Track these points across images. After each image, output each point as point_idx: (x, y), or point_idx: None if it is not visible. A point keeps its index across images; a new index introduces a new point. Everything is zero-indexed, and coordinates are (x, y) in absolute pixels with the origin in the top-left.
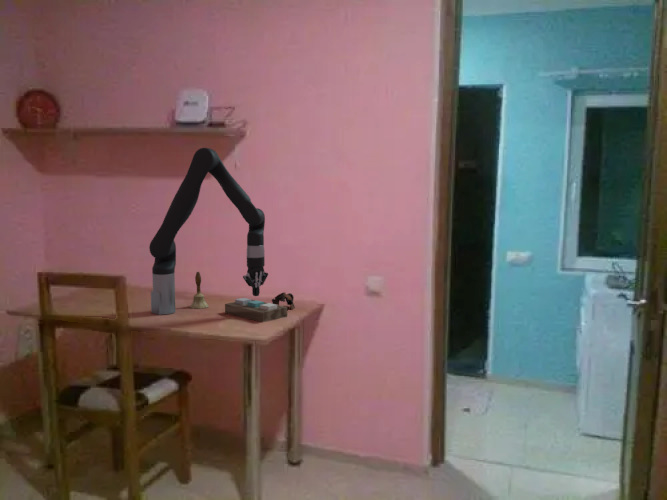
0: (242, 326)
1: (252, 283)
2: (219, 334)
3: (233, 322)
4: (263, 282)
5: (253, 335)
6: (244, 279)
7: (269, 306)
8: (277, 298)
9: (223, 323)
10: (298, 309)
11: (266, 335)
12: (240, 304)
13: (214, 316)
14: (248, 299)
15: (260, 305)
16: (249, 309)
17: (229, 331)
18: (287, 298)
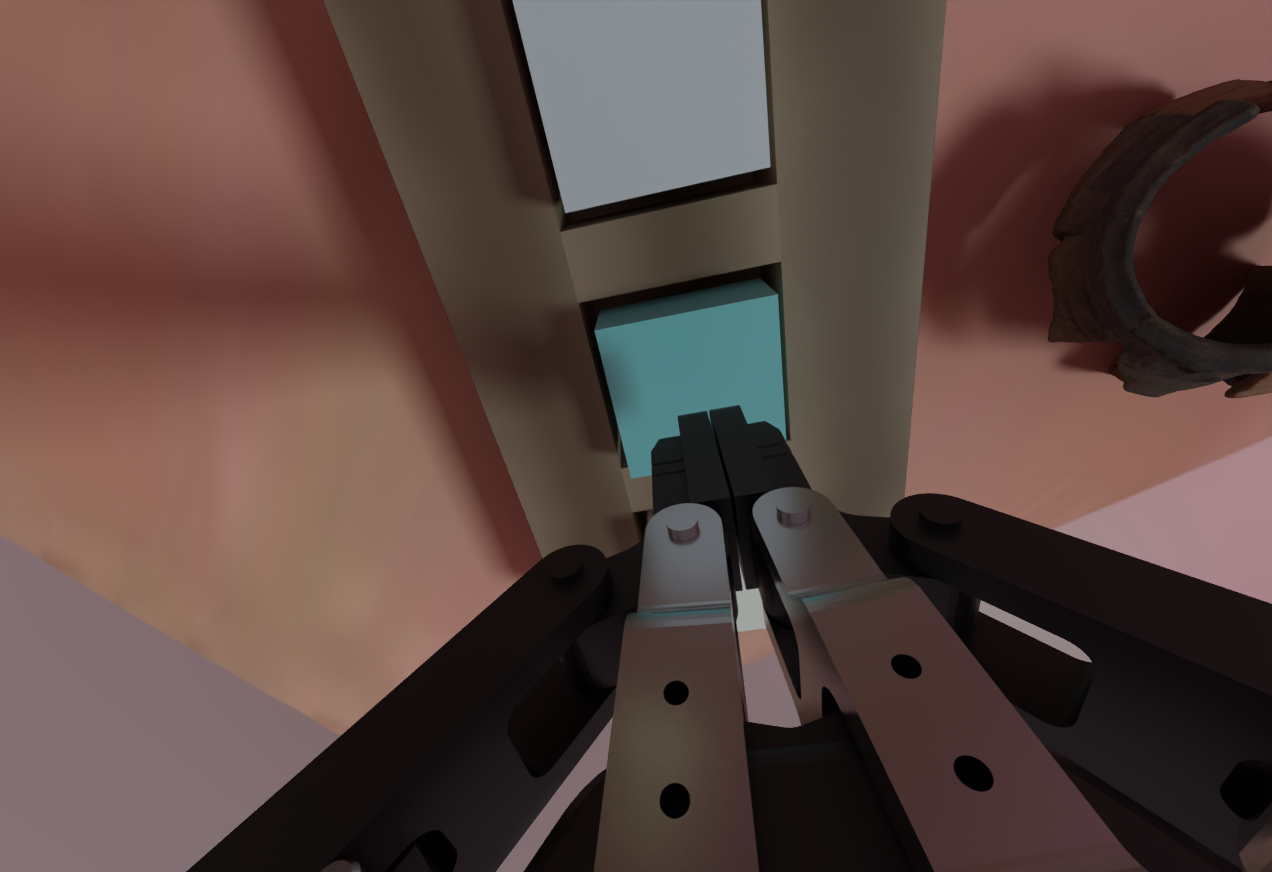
0: (398, 591)
1: (575, 731)
2: (202, 654)
3: (363, 470)
4: (988, 655)
5: None
6: (282, 802)
7: None
8: (1136, 336)
9: (268, 453)
10: (1172, 395)
11: None
12: (540, 183)
13: (202, 113)
14: (719, 144)
15: None
16: (521, 500)
17: (278, 636)
18: (1235, 394)
